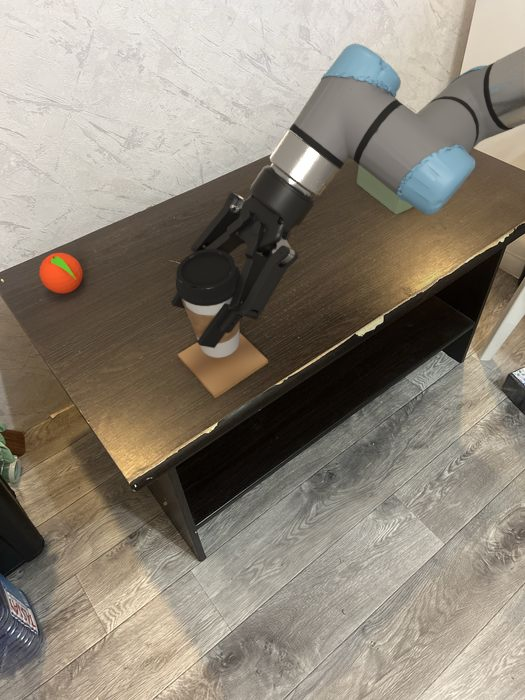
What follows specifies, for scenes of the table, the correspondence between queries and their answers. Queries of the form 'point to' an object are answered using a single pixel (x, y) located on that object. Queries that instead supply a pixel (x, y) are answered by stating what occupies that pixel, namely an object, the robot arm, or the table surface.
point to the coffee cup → (209, 294)
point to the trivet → (223, 366)
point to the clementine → (61, 273)
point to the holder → (381, 192)
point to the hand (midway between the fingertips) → (192, 324)
